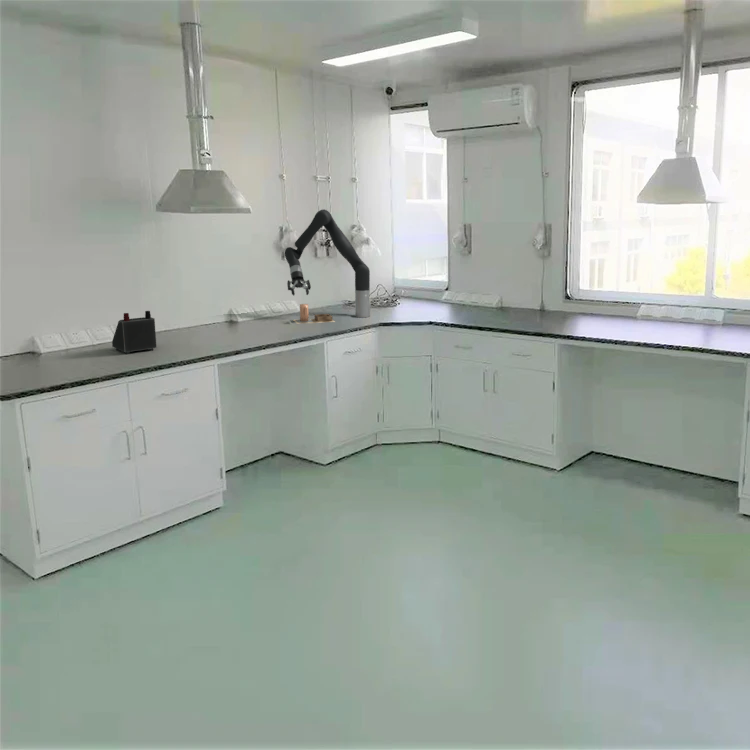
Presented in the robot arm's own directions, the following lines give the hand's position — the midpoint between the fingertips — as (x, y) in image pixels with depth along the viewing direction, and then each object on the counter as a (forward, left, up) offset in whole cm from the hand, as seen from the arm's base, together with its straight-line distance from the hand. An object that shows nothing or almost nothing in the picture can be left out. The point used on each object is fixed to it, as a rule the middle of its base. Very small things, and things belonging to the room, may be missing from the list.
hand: (300, 294), depth 430 cm
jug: (0, +11, -15) cm, 18 cm away
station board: (-6, +10, -16) cm, 20 cm away
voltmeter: (+98, +63, -16) cm, 118 cm away
